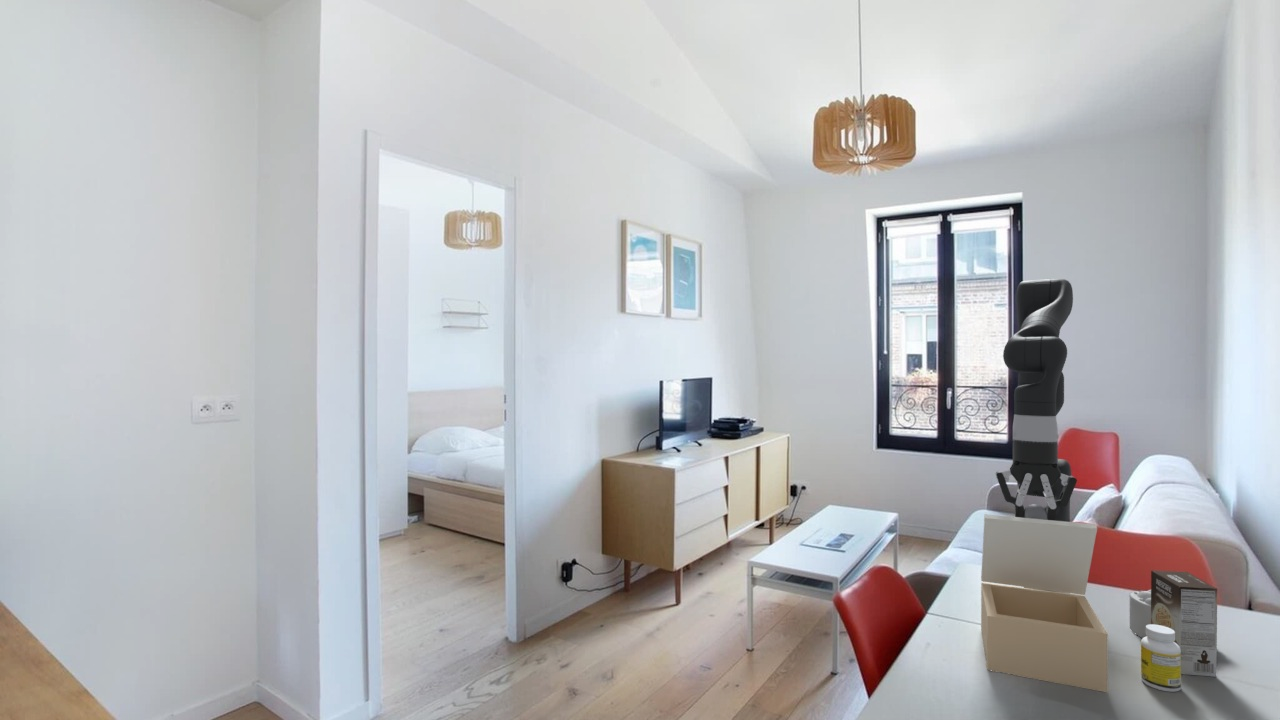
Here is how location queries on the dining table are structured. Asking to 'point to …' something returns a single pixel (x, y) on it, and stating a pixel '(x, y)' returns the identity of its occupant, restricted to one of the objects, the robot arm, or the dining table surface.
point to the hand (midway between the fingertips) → (1034, 525)
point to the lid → (1037, 551)
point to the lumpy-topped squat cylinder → (1140, 612)
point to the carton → (1043, 636)
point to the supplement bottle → (1160, 659)
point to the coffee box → (1187, 618)
